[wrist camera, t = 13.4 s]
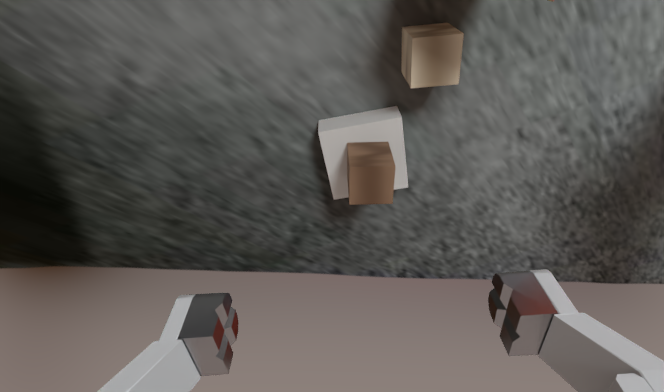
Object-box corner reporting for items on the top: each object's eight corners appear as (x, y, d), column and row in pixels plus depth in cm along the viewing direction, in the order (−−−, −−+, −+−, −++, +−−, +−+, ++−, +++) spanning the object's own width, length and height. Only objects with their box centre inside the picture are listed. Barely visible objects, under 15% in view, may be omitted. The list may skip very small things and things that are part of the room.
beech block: (447, 22, 42) (463, 33, 37) (443, 68, 45) (458, 84, 40) (402, 26, 42) (412, 38, 37) (401, 72, 45) (410, 88, 40)
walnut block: (388, 141, 46) (395, 166, 41) (385, 176, 49) (392, 203, 44) (347, 142, 46) (349, 167, 41) (347, 177, 49) (349, 204, 44)
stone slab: (396, 104, 47) (401, 117, 44) (403, 171, 53) (408, 187, 50) (318, 119, 48) (318, 132, 45) (333, 183, 54) (333, 199, 51)
